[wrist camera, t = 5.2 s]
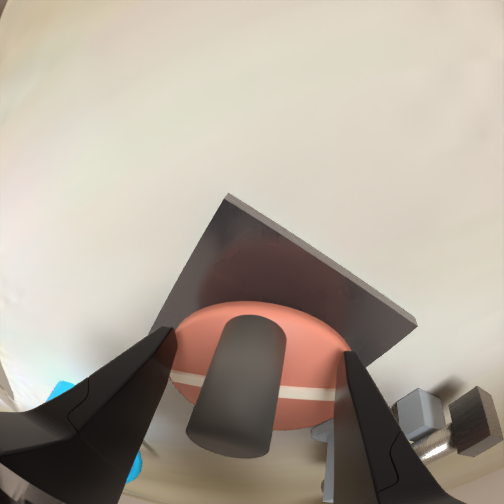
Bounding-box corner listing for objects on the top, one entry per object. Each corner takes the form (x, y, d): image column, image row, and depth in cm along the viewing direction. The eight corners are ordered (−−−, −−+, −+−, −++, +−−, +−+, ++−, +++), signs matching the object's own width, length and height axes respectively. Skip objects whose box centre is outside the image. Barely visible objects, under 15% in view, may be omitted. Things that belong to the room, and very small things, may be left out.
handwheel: (338, 406, 14) (333, 504, 9) (195, 391, 16) (162, 478, 11) (371, 288, 10) (393, 434, 5) (161, 274, 12) (85, 387, 7)
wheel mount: (415, 317, 12) (420, 335, 11) (291, 408, 18) (289, 423, 16) (228, 193, 11) (219, 204, 10) (148, 335, 16) (139, 349, 15)
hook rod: (490, 394, 11) (503, 439, 9) (341, 471, 18) (339, 506, 15) (477, 385, 11) (490, 435, 8) (321, 466, 18) (317, 503, 15)
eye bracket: (454, 405, 15) (467, 476, 10) (375, 448, 20) (374, 510, 14) (398, 377, 15) (409, 470, 10) (311, 428, 19) (303, 502, 14)
